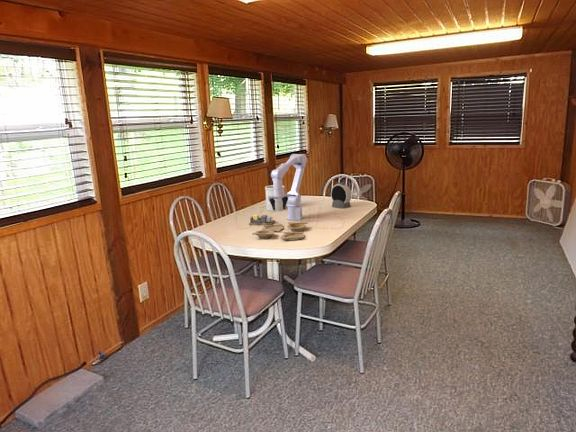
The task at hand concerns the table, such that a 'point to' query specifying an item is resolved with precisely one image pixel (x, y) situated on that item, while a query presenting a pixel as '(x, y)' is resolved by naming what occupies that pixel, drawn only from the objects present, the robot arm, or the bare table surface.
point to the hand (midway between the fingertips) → (279, 209)
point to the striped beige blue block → (268, 219)
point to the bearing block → (263, 218)
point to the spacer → (255, 217)
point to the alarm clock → (341, 195)
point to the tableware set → (270, 229)
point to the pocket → (255, 220)
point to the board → (263, 223)
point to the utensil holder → (277, 201)
